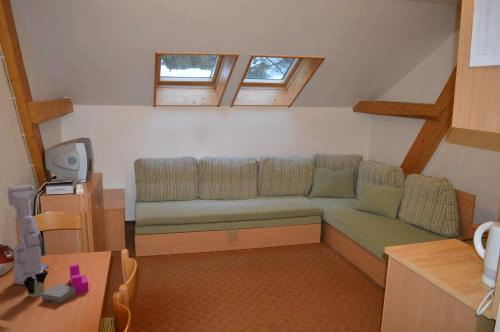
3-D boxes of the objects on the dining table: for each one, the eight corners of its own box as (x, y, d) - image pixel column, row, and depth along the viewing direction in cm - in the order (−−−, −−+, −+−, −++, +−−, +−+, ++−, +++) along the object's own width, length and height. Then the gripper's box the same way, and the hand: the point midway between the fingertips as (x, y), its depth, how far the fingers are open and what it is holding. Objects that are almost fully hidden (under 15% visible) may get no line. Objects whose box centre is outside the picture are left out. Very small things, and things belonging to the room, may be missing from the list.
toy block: (88, 291, 174) (87, 275, 172) (73, 294, 171) (72, 278, 170) (85, 278, 187) (84, 263, 186) (70, 280, 184) (69, 265, 183)
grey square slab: (42, 302, 164) (42, 298, 164) (58, 293, 173) (58, 288, 172) (60, 306, 162) (60, 301, 162) (76, 296, 170) (75, 291, 170)
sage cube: (27, 295, 169) (26, 285, 168) (35, 291, 173) (35, 281, 172) (36, 297, 168) (35, 287, 167) (44, 292, 172) (43, 282, 171)
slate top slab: (41, 298, 164) (41, 293, 164) (58, 288, 173) (58, 284, 172) (59, 301, 161) (59, 297, 161) (75, 291, 170) (75, 287, 170)
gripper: (27, 268, 160) (30, 299, 162) (54, 255, 174) (56, 284, 176) (13, 266, 162) (16, 297, 164) (40, 253, 176) (42, 282, 178)
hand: (35, 290), depth 170 cm, fingers closed on sage cube, 4 cm apart
